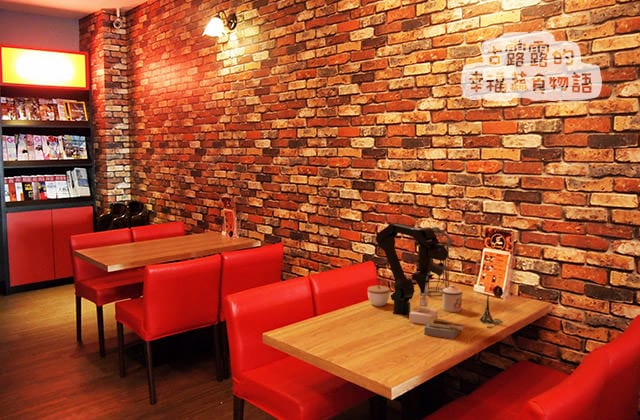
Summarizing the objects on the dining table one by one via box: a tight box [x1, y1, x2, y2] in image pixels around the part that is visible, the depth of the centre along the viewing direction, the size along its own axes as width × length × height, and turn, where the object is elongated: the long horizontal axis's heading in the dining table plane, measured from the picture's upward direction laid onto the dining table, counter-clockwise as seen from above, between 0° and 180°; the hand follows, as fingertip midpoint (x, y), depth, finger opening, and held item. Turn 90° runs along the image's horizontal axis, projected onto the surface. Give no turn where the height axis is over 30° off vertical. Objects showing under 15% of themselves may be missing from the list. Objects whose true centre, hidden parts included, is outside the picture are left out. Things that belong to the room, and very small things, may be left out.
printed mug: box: [441, 284, 463, 313], centre depth 252 cm, size 12×9×12 cm
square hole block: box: [408, 306, 439, 326], centre depth 236 cm, size 10×10×4 cm
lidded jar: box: [367, 284, 391, 307], centre depth 260 cm, size 11×11×9 cm
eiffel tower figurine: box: [479, 294, 504, 329], centre depth 233 cm, size 15×10×13 cm
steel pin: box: [419, 282, 429, 308], centre depth 235 cm, size 3×3×10 cm
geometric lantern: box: [427, 226, 455, 297], centre depth 275 cm, size 16×16×35 cm
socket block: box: [424, 323, 460, 340], centre depth 221 cm, size 12×10×3 cm
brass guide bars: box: [429, 315, 466, 331], centre depth 220 cm, size 14×6×3 cm, turn 64°
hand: (424, 292), depth 235 cm, fingers closed on steel pin, 3 cm apart
